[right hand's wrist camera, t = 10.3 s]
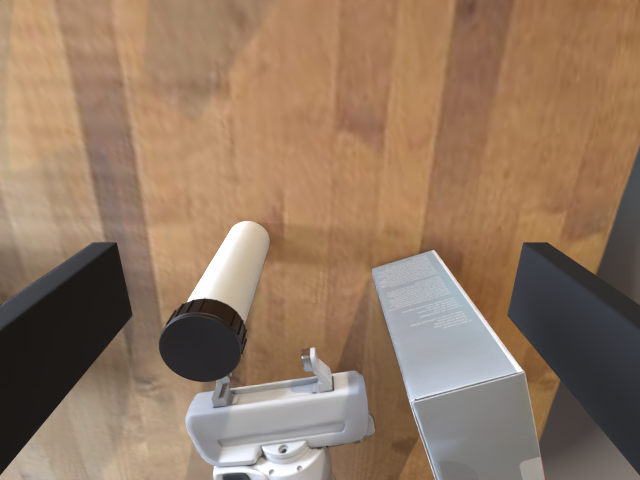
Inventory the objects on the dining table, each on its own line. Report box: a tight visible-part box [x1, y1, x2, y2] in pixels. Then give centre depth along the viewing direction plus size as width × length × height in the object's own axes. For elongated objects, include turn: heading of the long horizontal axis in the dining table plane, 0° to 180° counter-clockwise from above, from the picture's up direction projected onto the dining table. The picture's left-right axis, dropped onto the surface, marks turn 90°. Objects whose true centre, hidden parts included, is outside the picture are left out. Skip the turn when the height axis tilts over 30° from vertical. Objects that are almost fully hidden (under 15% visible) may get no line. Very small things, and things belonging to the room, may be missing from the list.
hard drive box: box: [372, 250, 546, 480], centre depth 35 cm, size 16×8×20 cm, turn 19°
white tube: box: [187, 221, 270, 324], centre depth 33 cm, size 4×4×18 cm
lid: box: [159, 298, 247, 382], centre depth 25 cm, size 5×5×2 cm
